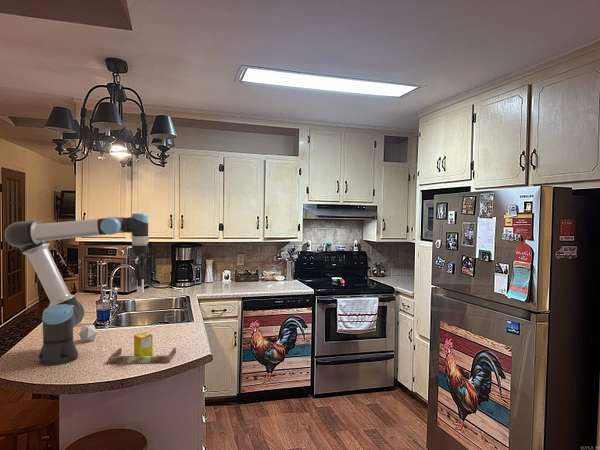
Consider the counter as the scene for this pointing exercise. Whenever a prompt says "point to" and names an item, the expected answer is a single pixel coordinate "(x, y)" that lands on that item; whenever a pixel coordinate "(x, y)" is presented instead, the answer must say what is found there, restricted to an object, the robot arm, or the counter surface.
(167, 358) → the frame
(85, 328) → the die
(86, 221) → the robot arm
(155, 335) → the counter surface
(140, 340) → the supplement box
